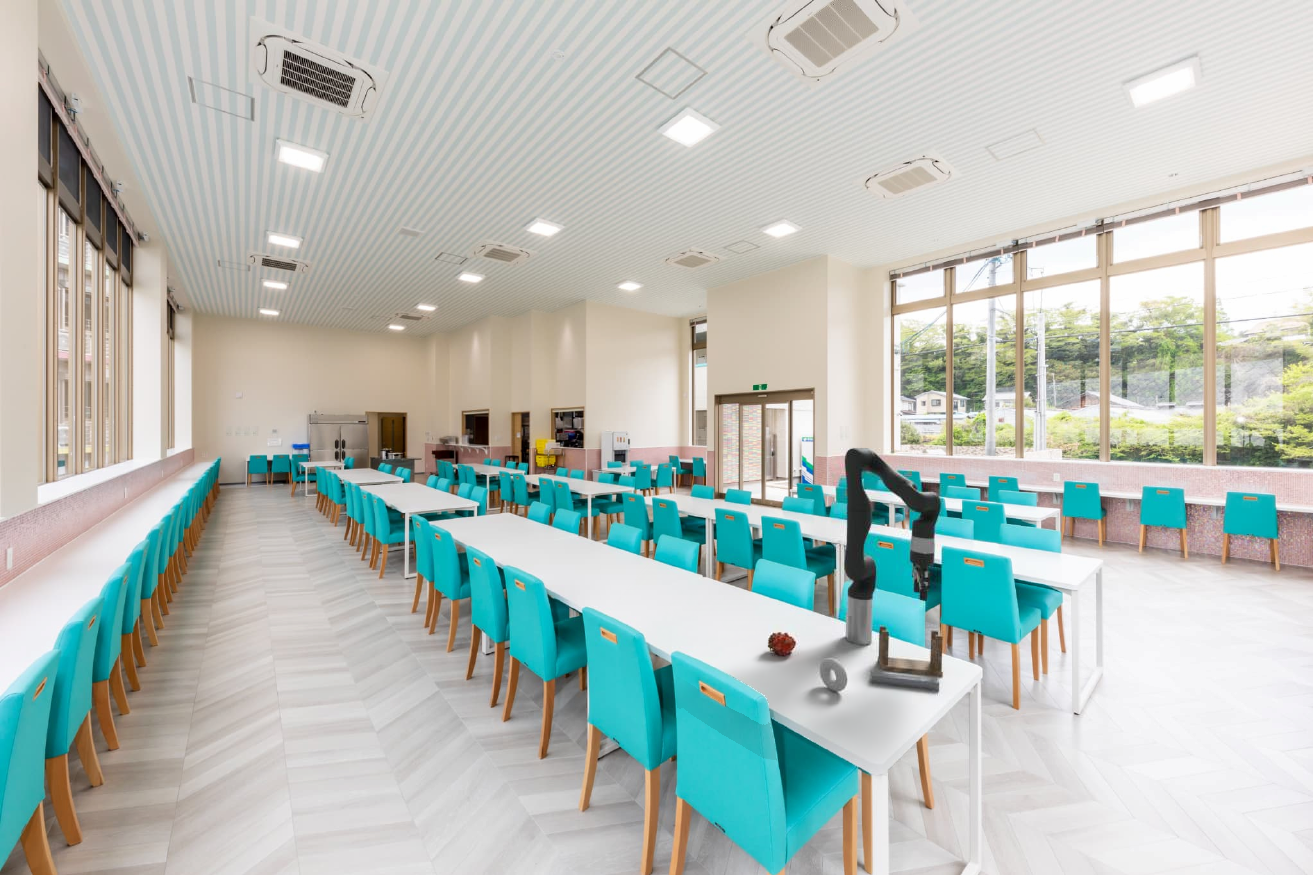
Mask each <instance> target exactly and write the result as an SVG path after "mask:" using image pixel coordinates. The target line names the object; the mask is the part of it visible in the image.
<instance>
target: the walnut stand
mask: <svg viewBox="0 0 1313 875" xmlns="http://www.w3.org/2000/svg"><path fill="white" fill-rule="evenodd" d="M878 631H879V632H878V633H879V634H878V656H877V662H878V664H879V666H880V668H881V670H882V671H886V672H894V673H895V672H897V673H905V674H906V673H907V674H915V675H925V676H934V677H943V676H944V675H943V674H944V671H943V670H942V669H943V667H942V666H943V638H944V637H943V635H941V634H939V630H934V629H932V630H930V656H929V657H930V658H929V660H919V659H909V658H899V657H889V644H890V642H889V640H890V631H889V630H887V626H886V625H879V630H878Z"/></svg>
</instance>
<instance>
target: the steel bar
mask: <svg viewBox="0 0 1313 875" xmlns="http://www.w3.org/2000/svg"><path fill="white" fill-rule="evenodd" d="M869 677H870V679H869V680H870V682H871V684H874V685H879V686H881V685H882V686H889V687H896V688H897V687H899V688H906V689H914V690H915V689H917V690H925V691H926V690H927V691H932V690H935V691H934V692H940V682H939V681H938V679H937V678H935V677H934V678H933V677H925V676H915V675H906V674H897V673H889V672H878V671H870V674H869Z"/></svg>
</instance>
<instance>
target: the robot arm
mask: <svg viewBox="0 0 1313 875" xmlns="http://www.w3.org/2000/svg"><path fill="white" fill-rule="evenodd" d="M844 470H845V480H846V545H845V546H846V547H845V552H844V553H845V554H844V564H843V565H844V572H845V575H846V576H847V577H848V579H850V580H851V581H852V583H851V584H850V586H848V589H847V602H846V603H847V605H846V606H847V609H846V610H847V611H846V613H845V638H846V641H847V642H850V643H853V644H855V645H870V644H871V643H872V638H873V606H874V605H873V604H874V603H873V600H874V599H873V598H874V593H875V590H876V584H877V565H876V562H875V560H874V558H872V556H870V555H868V554H865V552H864V551H865V544H866V540H867V537H868V535H869V533H870V530H871V527H872V523H873V506H872V505H873V504H872V503H871V500H870V498H869V496H868V494H867V492H866V490H865V488H864V485H863V472H865V473H866V472H870V473H872V474H874V475H876V476H877V477H879V478H880V479H881V481H882V483H883V484H884V486H885V488H886V489H887V490H889V491H890V492H891V493H893V494H894V495H896V496H897V497H899V498H900V499H901V501H903V503H904V504H905V505H906V506H907V508H908V509H910V510H911V511H912V512H915V513H919V517H917V518H915V519H914V520H912V524H911V526H912V527H911V537H910V547H909V549H910V550H909V562H910V563H911V564H912V570H911V571H912V572H911V577H912V581H913V592H914V593H916V594H919V598H918V599H919V600H920V601H923V602H926V601H928V590H930V589H931V575H932V573H931V571H929V570H928V567H929V566H930V567H931V566H934V565H935V552H936V542H935V535H936V534H935V533H936V532H935V531H936V529H935V528H936V524H937V522H938V518H939V515H940V512H941V509H942V502H941V499H940V496H939V495H938V494H937V493H936V492H934V491H919V490H918V486H917V484H916V483H915V482H913V481H912V480H910V479H909V478H907V477H905V476H904V475H902V474H901V473H900V472H898V471H897V470H895V469H894V468H893V467H892V466H890V465H889V464H888V463H887V462H886V461H885V460H884V459H883V458H882V457H880V455H878V454H877V453H876V452H875V451H874V450H872V449H871V448H866V447H856V448H855V447H852V448H850V449H848V450H846V454H845V456H844Z"/></svg>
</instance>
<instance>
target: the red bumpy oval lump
mask: <svg viewBox="0 0 1313 875" xmlns="http://www.w3.org/2000/svg"><path fill="white" fill-rule="evenodd" d="M796 645H797V641H796V640H795V638H794V637H793V636H791V635H789V634H788V632H784V633H782V631H779V632H778V631H777V633H776V632H773V633H772V634H770V635H769V637H768V640H767V648H768V649H769V651H770V652H771V653H774V654H775V655H780V656H783V657H784V656H786V655H791V654H792V653H793V650H794V649H795V648H796Z"/></svg>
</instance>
